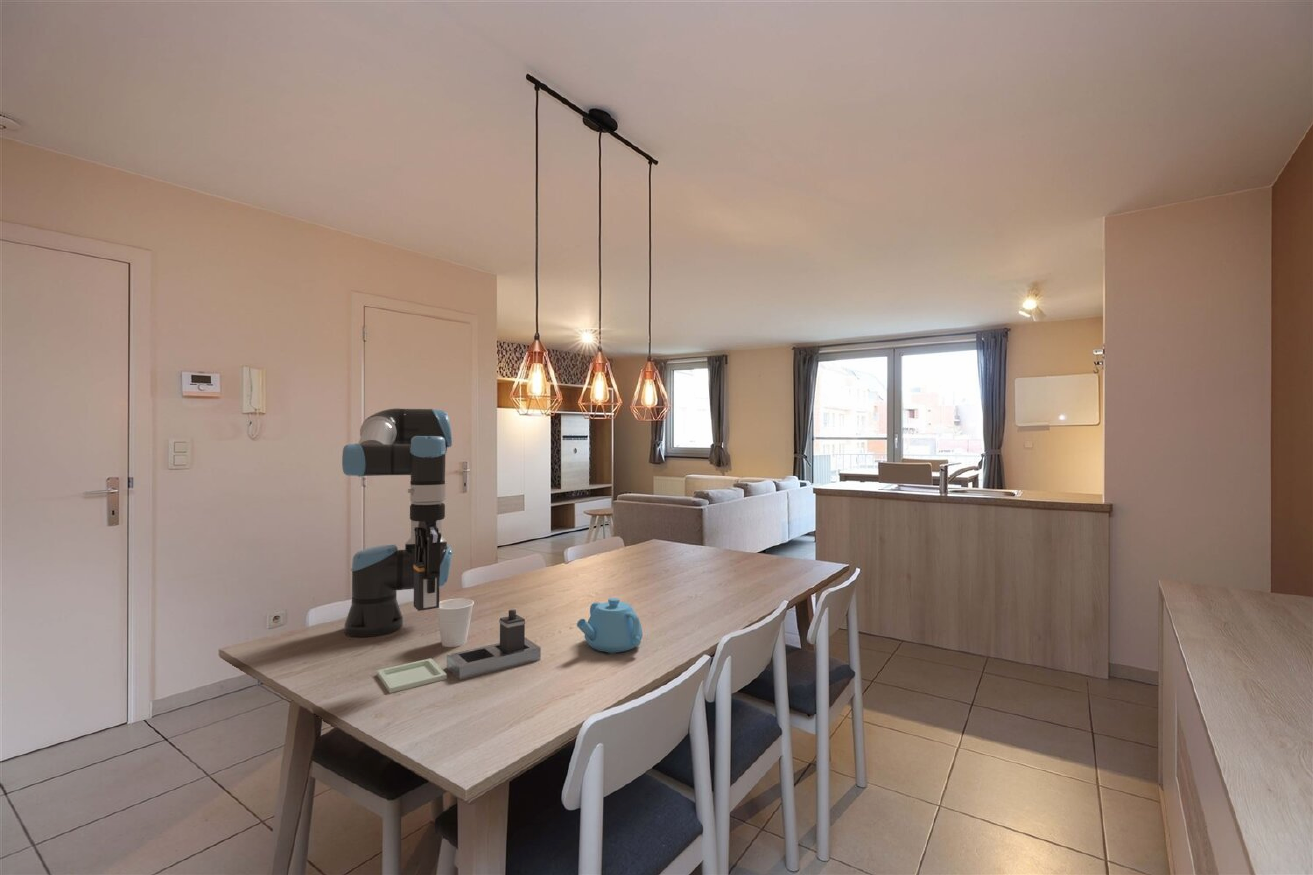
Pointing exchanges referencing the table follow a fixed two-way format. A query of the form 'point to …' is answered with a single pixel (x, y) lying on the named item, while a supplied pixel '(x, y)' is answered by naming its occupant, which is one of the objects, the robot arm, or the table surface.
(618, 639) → the teapot
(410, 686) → the tray
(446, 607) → the cup
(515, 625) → the twin plug
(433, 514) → the robot arm
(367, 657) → the table surface
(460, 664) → the strip
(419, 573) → the plug
